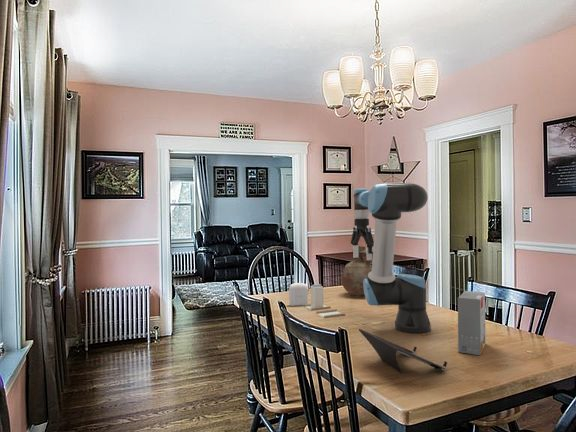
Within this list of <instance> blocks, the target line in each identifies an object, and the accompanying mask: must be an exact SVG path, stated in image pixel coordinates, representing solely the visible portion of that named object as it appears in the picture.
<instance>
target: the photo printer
mask: <svg viewBox="0 0 576 432" xmlns="http://www.w3.org/2000/svg"><path fill="white" fill-rule="evenodd" d="M288 289H289V292H288V293H289V298H288V299H289V302H288V303H289V307H295V306H297V307H298V306H304V305H306V304H309V303H308V302H309V301H308V300H309V298H308V294H309V293H308V291H309V290H308V285H307V283H303V282H295V283H292V284H290V285H289V287H288Z"/></svg>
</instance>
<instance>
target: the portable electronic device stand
mask: <svg viewBox="0 0 576 432" xmlns="http://www.w3.org/2000/svg"><path fill="white" fill-rule="evenodd" d="M358 331H359V332H360V333H361V334H362V336H363V337H364V338H365V339H366V340H367V342H368V343H369V344H370V345H371V346H372V348H373V350H375V352H376V353H377V355H378V356H379V358H380V359H381V361H382V363H384V364H385V365H386V366H388V367H391V368H392V369H393V370H395V371H397V372H398V373H400V374H402V370H401V368H400V366H399V363H398V359H397V353H400V354H402V355H405V356H407V357H409V358H411V359H414V360H416V361H419V362H421V363H422V364H426V365H428V366H430V367H432V368H434V369H435V370H436V371H439V372H441V373H442V372H443V371H445V370H446V367H447V366H448V362H447V361H444V362H443V365H439V364H438V363H434V362H432V361H430V360H428V359H427V358H426V359H425V358H423V357H421V356H418V355H416V352H417V349H418V347H417V346H414V348H413V351H412V350H410V349H408V348H406V347H404V346H401V345H399V344H396V343H394V342H392V341H390V340H388V339H385V338H382V337H380V336H377V335H375V334H373V333H371V332H369V331H366V330H363V329H361V328H358Z"/></svg>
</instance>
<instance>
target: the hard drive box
mask: <svg viewBox="0 0 576 432" xmlns="http://www.w3.org/2000/svg"><path fill="white" fill-rule="evenodd" d="M485 346H486V292H482V291H473V290H472V291H470V290H469V291H468V290H464V291H463V293H462V294H460V295H459V296H458V297H457V352H458V353H462V354H469V355H474V356H481V355H482V353H483V350H484V348H485Z"/></svg>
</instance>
